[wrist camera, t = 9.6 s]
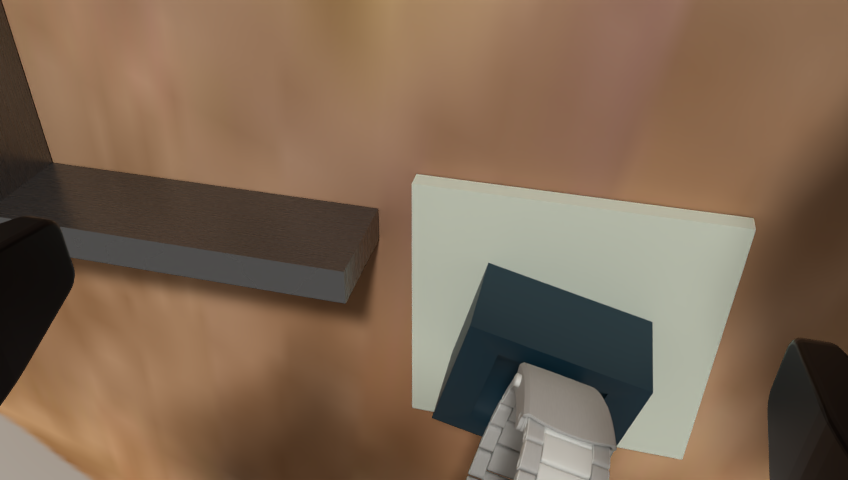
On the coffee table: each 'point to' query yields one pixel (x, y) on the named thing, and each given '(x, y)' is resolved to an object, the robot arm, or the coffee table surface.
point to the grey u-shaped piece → (176, 214)
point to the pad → (580, 281)
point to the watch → (545, 380)
